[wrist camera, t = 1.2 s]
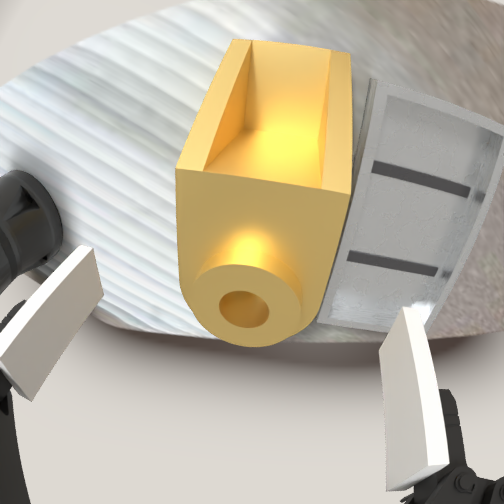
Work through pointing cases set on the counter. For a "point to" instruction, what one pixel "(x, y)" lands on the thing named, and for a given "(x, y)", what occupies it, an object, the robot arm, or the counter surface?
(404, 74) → the counter surface
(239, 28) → the counter surface
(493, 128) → the tray
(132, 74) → the counter surface
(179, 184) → the yellow mounting bracket
